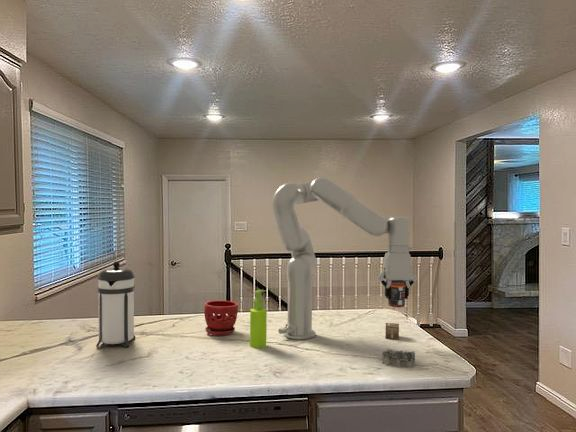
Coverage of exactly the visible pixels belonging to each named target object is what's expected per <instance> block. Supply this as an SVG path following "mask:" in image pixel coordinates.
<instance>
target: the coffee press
mask: <svg viewBox="0 0 576 432" xmlns="http://www.w3.org/2000/svg"><path fill="white" fill-rule="evenodd" d="M96 278H97V281H98V285H97V286H98V287H97V293H98V342H97V343H96V345H95V346H96V348H97V349H100V350H101V349H102V348H103V346H104V345H106V344H108V345H115V344H116V345H117V344H122V345H123V347H124V348H125V349H126V348H129V347H130V345H131V344H130V341H131V340H132V341H135V339H136V335H135V304H134V303H135V285H136V284H135V278H136V275H135V274H134V272H133V270H131V268H127V267H126V268H125V267H120V262H119V261H114V262H113V264H112V267H110V268H105V269H103V270H101V271H100V272H99V273H98V276H97V277H96Z"/></svg>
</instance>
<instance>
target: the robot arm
mask: <svg viewBox="0 0 576 432" xmlns="http://www.w3.org/2000/svg"><path fill="white" fill-rule="evenodd" d="M272 197H273V198H272V202H271V203H272V204H271V205H272V206H271V207H272V212H273V216H274V219H275V222H276V226H277V230H278V235H279V237H280V242H281V245H282V247H283V249H284V250H285V251H287V252H289V253H290V254H291V255H290V256H291V258H290V259H289V260H288V262H287V265H286V279H287V323H286V324H285V327H282V328H278V334H280V335H282V334H283V336H284V337H285V338H288V339H293V340H310V339H312V338H315V337H316V331H315V330H314V329H313V328H312V327H313V325H312V322H313V321H312V317H313V314H312V313H313V281H312V280H313V279H312V274H313V273H314V272H315V271H316V269H317V265H318V264H317V258H316V255H315V252H314V248H313V245H312V240H311V238H310V235H309V233H308V231H306V229H304V228H302V227H301V226H300V223H299V218H298V215H297V213H296V211H295V205H300V204H305V203H311V202H318V201H320V202H321V203H323V204H324V205H326V206H328V207H329V208H331V209H332V210H334V211H335V212H337V213H338V214H340V215H341V217H344V218H345V219H347V220H349V221H350V222H351V223H352V224H355V225H356V226H357V227H359V228H360V229H361V230H363V231H364V232H366V233H367V234H369V235H371V236H373V237H380V236H383V235H387V236H388V237H387V252H385V254H384V258H383V262H382V264H383V265H382V271H381V272H380V273H379V274H378V275H377V276H376V279H377V280H378V281H379V282H380V283H381V284H382V286H383V287H384V296H385V298H386V299H387V300H388V299H390V298H391V289H390V285H391V282H392V281H397V280H401V281H403V282H404V283H405V300H408V299H409V296H410V295H409V293H410V288H411V286H413V284H415V282H416V281H417V280H418V279H419V278H418V276H417V275H416V274H415V273H414V272H413V268H412V267H413V264H412V263H413V262H412V257H411V254H410V251H412V250H413V247H412V246H410V223H411V222H410V218H409V217H408V216H399V215H397V216H394V215H393V216H386V215H381V214H378V213H376V212H374V211H373V210H371V209H369V207H367V206H366V205H364V204H363V203H361V202H360V201H359V200H358V199H357V197H355V196H354V195H353V194H351V192H349V191H347V190H345V189H343V188H342V187H340V186H339V185H337V184H336V183H334V182H333V181H332V180H331V179H329V178H328V177H325V176H324V177H323V176H318V177H316V178H314V179H313V180H310V181H305V182H304V181H303V182H294V181H290V182H285V183H283V184H282V185H280V186H279V188H277V190H276V191H275V192H274V195H273V196H272ZM384 279H385V280H384Z"/></svg>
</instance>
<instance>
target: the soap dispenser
mask: <svg viewBox="0 0 576 432" xmlns="http://www.w3.org/2000/svg"><path fill="white" fill-rule="evenodd" d="M264 292H266V290H264V289H257V290H255V291H254V294H255V295H256V296H255V299H254V300H253V308H250V311H249V312H250V314H249V315H250V316H249V319H250V320H249V324H250V325H249V326H250V328H249V329H250V330H249V331H250V332H249V346H250V348H254V349H264V348H265V347H267V322H268V321H267V318H268V317H267V315H268V314H267V312H268V311H267V308H264V299H262V293H264Z"/></svg>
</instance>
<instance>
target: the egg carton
mask: <svg viewBox="0 0 576 432" xmlns="http://www.w3.org/2000/svg"><path fill="white" fill-rule="evenodd" d="M381 359H382V360H381V361H382V364H383V365H384V366H395V367H403V366H404V367H407V368H408V369H409V368H414V367H415V365H416V364H415V361H416V352H415V350H413V351H407V350H406V351H403V350H394V349H393V350H392V349H390V348H387V349H385V350H383V351H382V354H381Z"/></svg>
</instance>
